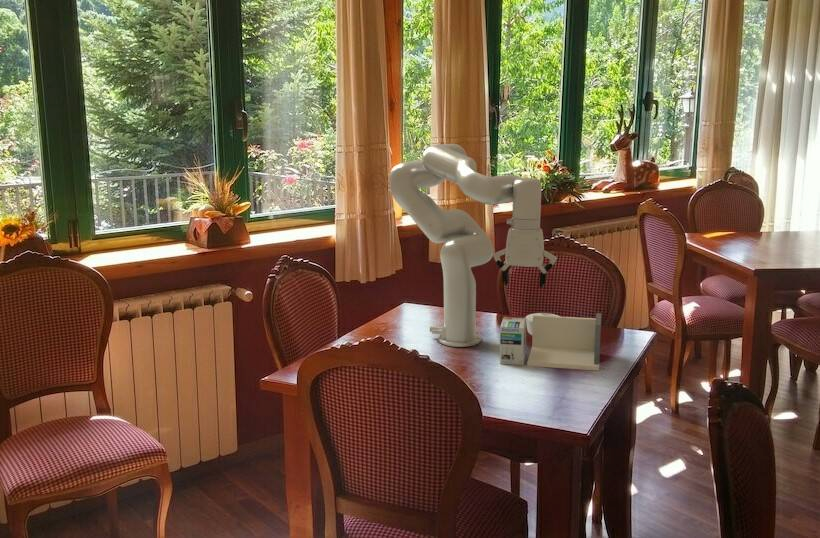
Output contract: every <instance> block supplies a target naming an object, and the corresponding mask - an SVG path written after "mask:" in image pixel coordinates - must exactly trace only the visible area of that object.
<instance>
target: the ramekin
mask: <svg viewBox="0 0 820 538" xmlns="http://www.w3.org/2000/svg"><path fill="white" fill-rule="evenodd" d="M533 315H541V316H559V317H561V316H560V315H557V314H554V313H547V312H538V313H537V312H535V313H530V314H528V315H525V318H526V331H527V333H528V334H529V335H530V336H532V333H533Z"/></svg>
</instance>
